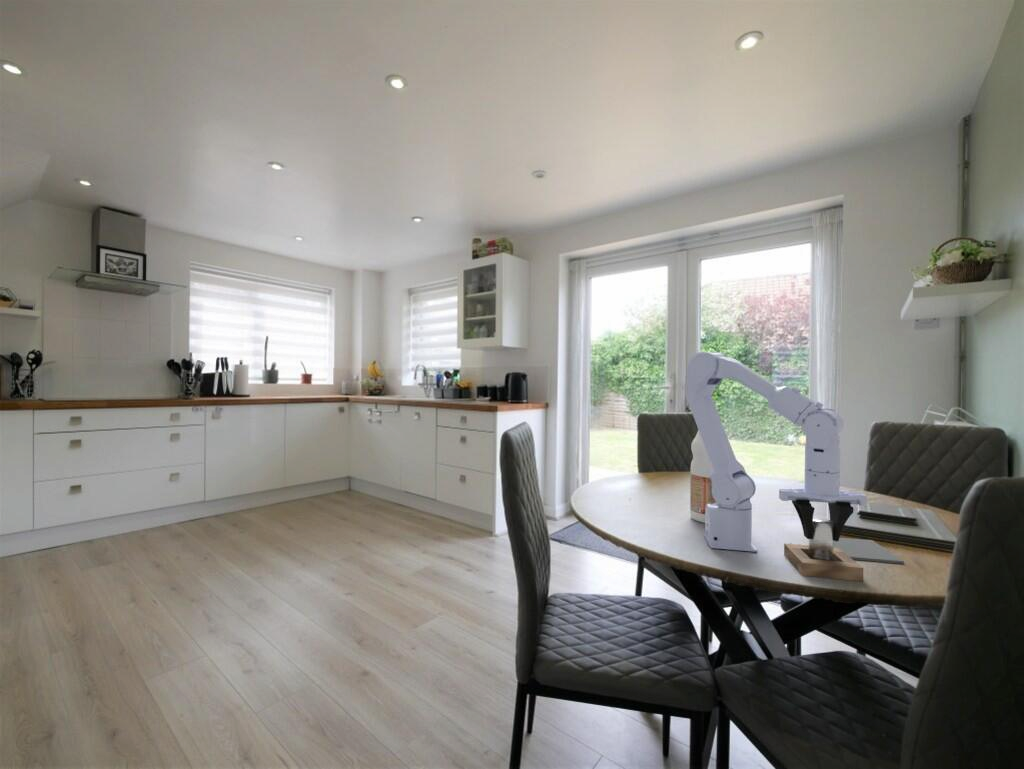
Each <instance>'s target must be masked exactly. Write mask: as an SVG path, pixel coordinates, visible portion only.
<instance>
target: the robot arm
mask: <svg viewBox="0 0 1024 769" xmlns="http://www.w3.org/2000/svg"><path fill="white" fill-rule="evenodd" d="M687 362H688V363H687V364H686V365H685V371H686V374H687V375H686V381H685V382H686V383H685V390H684V394H685V397H686V400H687V403H688V405H689V409H690V411H691V413H692V416H693V419H694V422H695V424H696V426H697V431H698V430H699V432H700V435H701V438H702V440H703V443H704V446H705V448H706V451H707V454H708V456H709V459H710V462H711V464H712V469H711V473H710V478H711V481H712V495H713V497H714V499H715V501H716V503H714V504H706V507H705V523H704V538H705V539H706V542H707V544H708V545H709V547H710V548H711V549H721V550H731V551H744V552H753V553H755V552H756V553H757V552H758V548H757V547H756V546H755V544H754V543H753V542H752V532H753V531H752V530H753V529H752V525H753V524H752V523H753V522H752V518H753V517H752V516H753V514H752V513H753V512H752V511H753V510H752V509H753V504H752V502H751V498H753V497H754V495H755V494H756V487H757V486H756V483H755V480H753V478H752V476H750V475H749V474H748V473H747V471H746V469H745V467H744V466H743V464H742V463H740V462H739V461H738V459H737V458H736V455H735V453H734V451H733V448H732V445H731V443H730V441H729V438H728V435H727V432H726V430H725V428H724V424H723V423H722V420H721V416H720V417H719V415H720V414H719V412H718V409H717V408H716V405H715V402H714V399H713V397H712V394H713V392H714V391H715V389H716V387H718V386H717V385H718V384H720V382H722V381H724V380H725V379H726V380H733V381H736V382H737V383H739V384H741V385H743V386H744V387H746V388H747V389H749V390H751V391H753V392H755V393H756V394H758V395H760V396H762V397H763V398H765V399H766V400H767V403H768V407H769V409H771V410H772V411H774V412H775V413H777V414H779V415H780V416H782V417H783V418H785V419H786V420H788V421H789V422H791V423H793V424H794V425H795V426H797V427H801V430H802V432H803V434H804V435H805V446H804V488H787V489H785V488H779V489H778V492H779V493H778V499H779V500H781V501H783V502H789V501H791V503H792V504H793V507H794V509H795V510H796V513H797V515H798V518H799V521H800V523H801V526H802V531H803V536H804V537H805V538H806V539H808V540H809V539H812V520H813V518H814V513H815V508H816V507H814V506H812V503H825V504H826V503H827V505H828V511H829V520H831V521H833V522H834V537H833V540H834V541H839V538H841V534H842V532H843V530H844V527H845V525H846V522H848V521H849V518H851V516H852V515H853V513H854V507H853V506H851V505H859V506H862V507H863V506H864V507H867V506H868V505H867V500H868V499H867V498H868V497H867V495H865V494H862V493H859V492H857V493H856V492H847V491H840V490H841V487H840V482H841V481H840V479H841V478H840V475H841V447H840V444H841V440H840V435H839V434H840V433H841V431H842V430H843V427H844V421H843V417H841V415H840V414H839V413H837V412H836V410H834V409H833V408H827V407H826V408H825V407H823V406H824V404H823V403H822V402H820V401H817V402H815V401H814V400H812V399H810V398H809V397H807V396H805V395H804V394H802V393H801V391H802V390H801V389H800V388H799V387H797V386H793V387H791V386H789V385H784V386H780V387H778V386H777V385H776V384H774V383H772V382H771V381H769V380H768V379H766V378H765V377H763V376H762V375H760V374H758V372H756V371H754V369H753V370H752V369H751V368H750V367H749V366H747V365H745V364H744V363H743V362H740V360H737V359H736V358H733V357H729V356H728V355H727V354H725V353H723V352H709V351H704V350H703V351H701V350H700V351H698V352H695V353H694V354H693V355H692V356H691V358H690V359H689V361H687ZM811 502H812V503H811Z"/></svg>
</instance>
